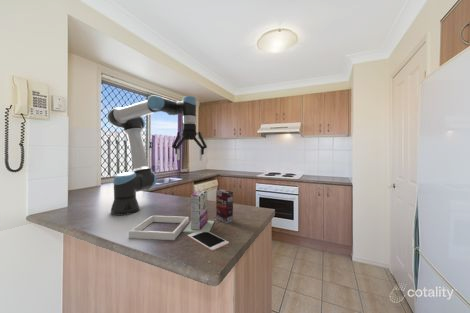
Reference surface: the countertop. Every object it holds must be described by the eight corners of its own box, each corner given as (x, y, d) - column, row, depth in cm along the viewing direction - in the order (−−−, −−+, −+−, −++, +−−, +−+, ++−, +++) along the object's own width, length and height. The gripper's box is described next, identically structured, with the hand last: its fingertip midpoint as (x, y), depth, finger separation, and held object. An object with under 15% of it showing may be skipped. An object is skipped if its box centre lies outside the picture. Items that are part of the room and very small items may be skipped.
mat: (182, 232, 91) (182, 230, 91) (191, 221, 105) (191, 220, 105) (208, 233, 90) (208, 232, 90) (214, 221, 104) (214, 220, 104)
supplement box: (215, 219, 108) (215, 190, 107) (222, 217, 111) (222, 189, 111) (226, 223, 102) (227, 193, 101) (233, 221, 105) (233, 191, 105)
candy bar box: (198, 221, 103) (198, 190, 103) (207, 221, 102) (207, 190, 102) (190, 229, 92) (190, 194, 92) (200, 230, 91) (200, 195, 91)
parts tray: (128, 238, 85) (128, 231, 85) (151, 221, 105) (151, 215, 104) (174, 240, 83) (174, 233, 83) (188, 222, 103) (188, 216, 103)
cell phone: (203, 231, 93) (203, 229, 93) (229, 244, 81) (229, 242, 81) (187, 236, 87) (187, 234, 87) (212, 252, 74) (212, 249, 74)
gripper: (166, 123, 112) (166, 160, 113) (209, 122, 110) (209, 160, 111) (171, 124, 120) (171, 159, 121) (211, 124, 118) (211, 160, 119)
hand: (189, 160), depth 116 cm, fingers open, 13 cm apart
